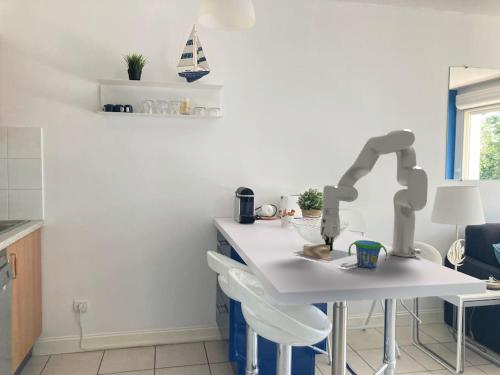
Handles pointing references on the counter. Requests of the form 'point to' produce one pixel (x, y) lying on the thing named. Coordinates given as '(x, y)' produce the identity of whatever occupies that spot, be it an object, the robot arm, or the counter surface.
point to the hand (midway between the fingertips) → (328, 250)
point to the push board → (330, 255)
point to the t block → (317, 250)
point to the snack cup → (367, 252)
